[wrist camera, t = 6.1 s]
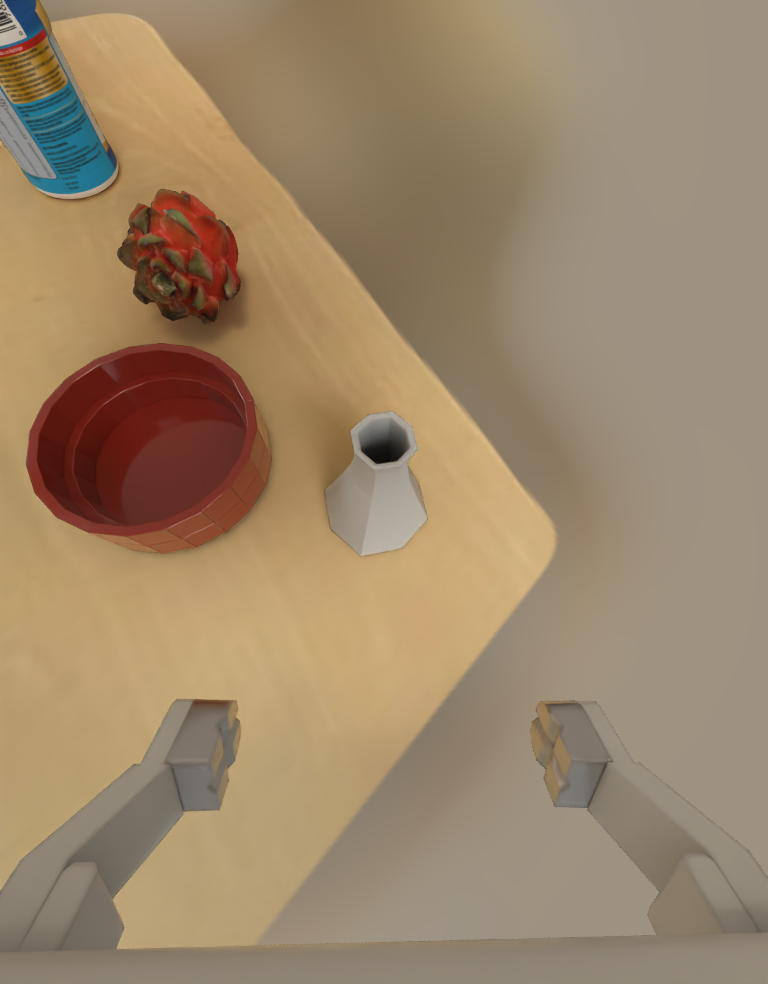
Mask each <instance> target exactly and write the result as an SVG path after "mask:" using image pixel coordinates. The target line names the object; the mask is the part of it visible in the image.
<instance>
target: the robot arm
mask: <svg viewBox="0 0 768 984" xmlns="http://www.w3.org/2000/svg"><path fill="white" fill-rule="evenodd" d="M237 711H238V706H237V701H236V700H202V699H176V700H175V701H174V702H173V703H172V705H171V706H170V708H169V710H168V712H167V713H166V715H165V717H164V719H163V721H162V723H161V725H160V727H159V729H158V731H157V733H156V735H155V737H154V739H153V740H152V742H151V744H150V746H149V748H148V750H147V752H146V754H145V756H144V758H143V760H142V762H141V764H134V765H132V766H131V767H130V768H129V769H128V770H127V771H125V772H124V773H123V774H122V775H121V776H120V777H118V778H117V779H116V780H115V781H114V782H112V783H111V784H110V785H109V786H108V787H107V788H105V789H104V790H103V791H102V792H101V793H99V794H98V795H97V796H96V797H95V798H94V799H92V800H91V801H90V802H89V803H88V804H86V805H85V806H84V807H83V808H82V809H81V810H79V811H78V812H77V813H76V814H75V815H73V816H72V817H71V818H70V819H69V820H68V821H66V822H65V823H64V824H63V825H62V826H61V827H59V828H58V829H57V830H56V831H55V832H53V833H52V834H51V835H50V836H49V837H48V838H46V839H45V840H44V841H43V842H42V843H40V844H39V845H38V846H37V847H36V848H35V849H33V850H32V851H31V852H30V853H29V854H27V855H26V856H25V857H24V858H23V859H22V860H20V862H19V863H18V865H17V867H16V868H15V870H14V871H13V873H12V874H11V876H10V877H9V879H8V880H7V882H6V883H5V885H4V887H3V888H2V890H1V891H0V984H768V877H767V875H766V874H765V872H764V871H763V869H762V868H761V867H760V865H759V864H758V862H757V861H756V860H755V858H754V857H753V855H752V854H751V853H750V851H749V850H748V849H747V848H745V847H744V846H743V845H741V844H740V843H739V842H738V841H737V840H735V839H734V838H733V837H732V836H730V835H729V834H728V833H727V832H725V831H724V830H723V829H722V828H720V827H719V826H718V825H717V824H715V823H714V822H713V821H712V820H710V819H709V818H708V817H707V816H705V815H704V814H703V813H702V812H701V811H699V810H698V809H697V808H696V807H694V806H693V805H692V804H691V803H689V802H688V801H687V800H686V799H685V798H683V797H682V796H681V795H680V794H678V793H677V792H676V791H675V790H673V789H672V788H671V787H670V786H668V785H667V784H666V783H665V782H663V781H662V780H661V779H660V778H658V777H657V776H656V775H655V774H653V773H652V772H651V771H650V770H649V769H647V768H646V767H645V766H644V765H642V764H641V763H639V762H638V763H637V762H634V761H633V760H632V758H631V756H630V755H629V753H628V751H627V750H626V748H625V746H624V745H623V743H622V741H621V740H620V738H619V736H618V735H617V733H616V731H615V730H614V728H613V726H612V725H611V723H610V721H609V720H608V718H607V717H606V715H605V713H604V712H603V710H602V708H601V706H600V705H599V704H598V703H597V702H594V701H541V702H539V703H538V705H537V708H536V712H537V714H538V717H537V718H536V719H535V720H534V721H533V722H532V725H531V730H530V734H531V744H532V748H533V752H534V754H535V757H536V760H537V761H538V762H539V763H540V764H541V765H542V766H543V767H544V768H545V769H546V771H545V775H544V781H545V784H546V786H547V789H548V791H549V794H550V797H551V799H552V802H553V804H554V807H574V808H576V807H577V808H588V809H587V810H588V811H589V812H590V813H591V815H593V817H594V818H595V819H596V820H597V821H598V823H599V824H600V825H601V826H602V827H603V828H604V829H605V830H606V832H607V833H608V834H609V835H610V836H611V837H612V838H613V839H614V841H615V842H616V843H617V844H618V845H619V846H620V848H621V849H622V850H623V851H624V852H625V853H626V854H627V855H628V857H629V858H630V859H631V860H632V861H633V862H634V863H635V865H636V866H637V867H638V868H639V869H640V870H641V871H642V873H643V874H644V875H645V876H646V877H647V878H648V879H649V880H650V882H651V883H652V884H653V885H654V886H655V887H656V888H657V890H658V891H659V894H658V895H657V897H656V898H655V900H654V901H653V903H652V904H651V906H650V908H649V911H648V914H647V915H648V917H649V920H650V922H651V924H652V926H653V928H654V930H655V933H656V935H642V936H603V937H564V938H528V939H486V940H449V941H448V940H447V941H408V942H370V943H332V944H331V943H330V944H295V945H294V944H292V945H254V946H216V947H178V948H140V949H116V948H117V945H118V942H119V940H120V937H121V935H122V932H123V930H124V924H123V921H122V918H121V916H120V914H119V912H118V910H117V908H116V906H115V903H114V901H113V898H114V896H115V895H116V894H117V893H118V892H119V890H120V889H121V888H122V887H123V886H124V885H125V883H126V882H127V881H128V880H129V879H130V877H131V876H132V875H133V874H134V873H135V871H136V870H137V869H138V868H139V867H140V865H141V864H142V863H143V862H144V861H145V859H146V858H147V857H148V856H149V855H150V853H151V852H152V851H153V850H154V849H155V848H156V846H157V845H158V844H159V843H160V842H161V840H162V839H163V838H164V837H165V836H166V834H167V833H168V832H169V831H170V830H171V828H172V827H173V826H174V825H175V824H176V822H177V821H178V820H179V819H180V818H181V817H182V815H183V812H184V811H209V810H220V807H221V804H222V801H223V798H224V794H225V791H226V788H227V785H228V782H229V778H228V772H227V769H228V768H229V767H230V766H231V765H232V764H233V763H234V761H235V759H236V755H237V752H238V747H239V742H240V733H241V726H240V721H239V720H238V719H237V718H236V714H237Z"/></svg>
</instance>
